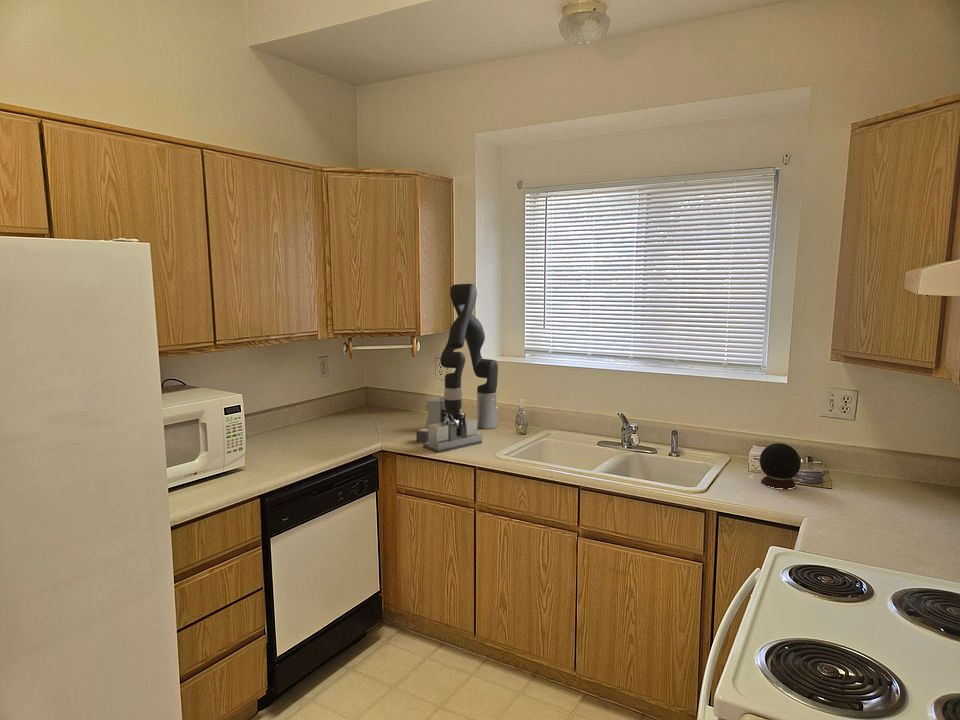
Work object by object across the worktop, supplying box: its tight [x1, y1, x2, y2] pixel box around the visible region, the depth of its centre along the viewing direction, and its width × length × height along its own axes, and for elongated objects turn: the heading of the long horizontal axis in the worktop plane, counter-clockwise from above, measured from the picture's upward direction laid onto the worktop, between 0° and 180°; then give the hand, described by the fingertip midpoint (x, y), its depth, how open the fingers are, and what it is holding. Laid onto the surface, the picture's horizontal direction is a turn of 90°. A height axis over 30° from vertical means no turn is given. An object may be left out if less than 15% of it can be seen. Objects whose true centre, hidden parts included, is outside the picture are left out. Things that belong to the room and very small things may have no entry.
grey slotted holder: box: [422, 417, 483, 454], centre depth 270 cm, size 24×11×10 cm, turn 130°
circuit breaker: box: [425, 397, 454, 429], centre depth 295 cm, size 8×14×15 cm, turn 89°
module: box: [445, 423, 462, 441], centre depth 270 cm, size 6×4×9 cm
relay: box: [415, 428, 429, 444], centre depth 276 cm, size 5×5×5 cm
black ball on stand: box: [759, 442, 802, 489], centre depth 220 cm, size 13×13×15 cm
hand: (452, 434), depth 270 cm, fingers open, 8 cm apart
